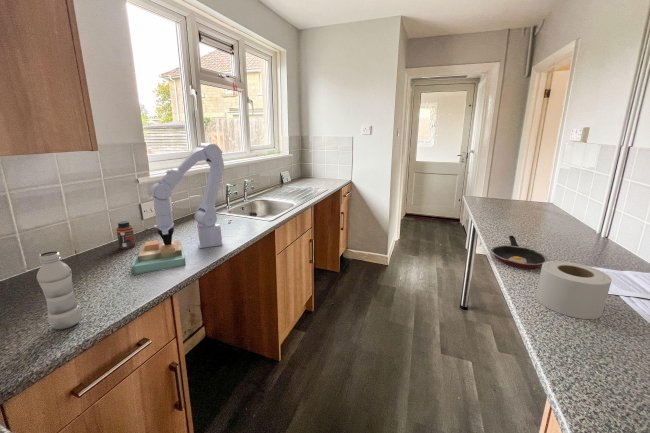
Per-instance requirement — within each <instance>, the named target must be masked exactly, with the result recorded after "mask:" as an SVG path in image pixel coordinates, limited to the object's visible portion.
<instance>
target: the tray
mask: <svg viewBox="0 0 650 433" xmlns="http://www.w3.org/2000/svg"><path fill="white" fill-rule="evenodd" d="M181 250H182V255H179V256H173V257H166V258H160V259H153V260H147V261H141V262H139V259H138V255H135V256H134V257H133V260H132V264H131V273H132V275H140V274H145V273H151V272H157V271H163V270H169V269H174V268H175V269H176V268H182V267H186V256H185V248H181Z"/></svg>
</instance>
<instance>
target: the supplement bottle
mask: <svg viewBox="0 0 650 433" xmlns="http://www.w3.org/2000/svg"><path fill="white" fill-rule="evenodd" d="M116 236H117V241H118V245H119V248H120V249H121V250H124V249H125V250H127V249H131V248H135V246H136V240H135V233H134V228H133V226H132V225H130V221H129V220H122V221H118V222H117V228H116Z"/></svg>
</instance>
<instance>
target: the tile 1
mask: <svg viewBox="0 0 650 433" xmlns="http://www.w3.org/2000/svg"><path fill="white" fill-rule="evenodd" d="M160 243H161V242H160V240H159V239H158V240H151V241H150V240H149V241H145V242H144V245H145V246H144V247H145V251H146V250H153V249H159V247H160Z"/></svg>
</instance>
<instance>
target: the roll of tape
mask: <svg viewBox="0 0 650 433" xmlns="http://www.w3.org/2000/svg"><path fill="white" fill-rule="evenodd" d="M611 285H612V278H611V277H610V275H608V274H607V273H605V272H604V271H602V270H599V269H597V268H594V267H591V266H590V265H589V266H588V265H584V264H581V263H577V262H576V263H575V262H571V261H564V260H548V261H547V262H544V263H543V264H542V265H541V270H540V274H539V279H538V284H537V287H536V288H537V289H536V293H535V298H536V301H538V303H540V304H541V305H542V306H544V307H545V308H547V309H548V310H551V311H552V312H555V313H557V314H559V315H560V314H561V315H564V316H568V317H570V318H575V319H580V320H595V319H596V320H597V319H598V318H601V317H602V316H603V312H604V310H605V305H606V303H607V298H608V296H609V292H610V287H611Z"/></svg>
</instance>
